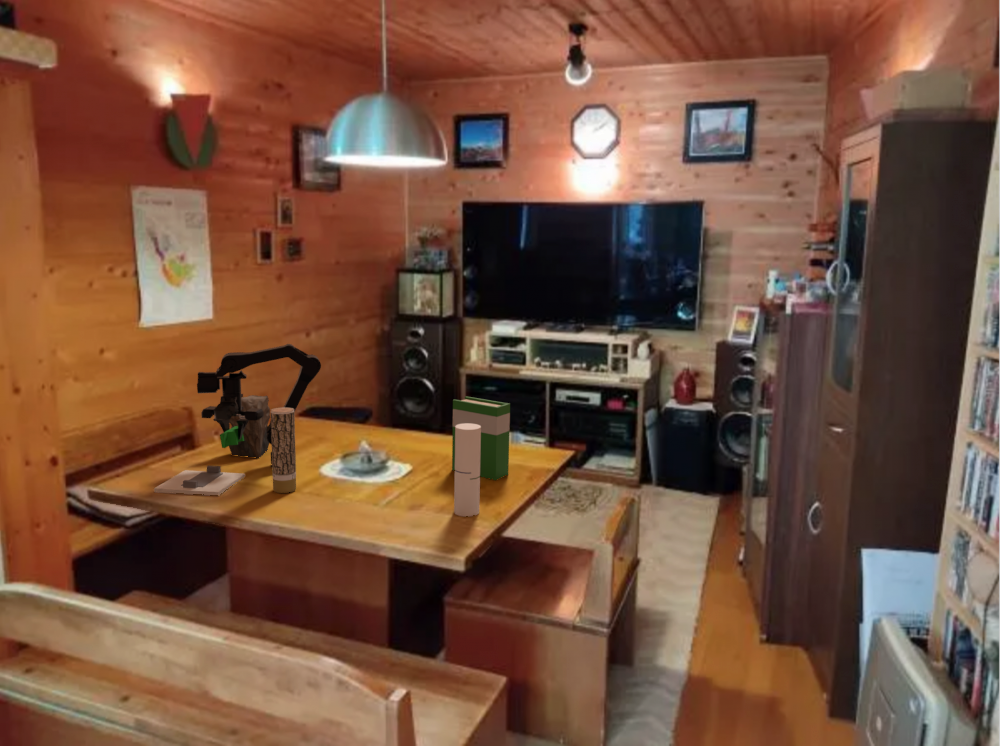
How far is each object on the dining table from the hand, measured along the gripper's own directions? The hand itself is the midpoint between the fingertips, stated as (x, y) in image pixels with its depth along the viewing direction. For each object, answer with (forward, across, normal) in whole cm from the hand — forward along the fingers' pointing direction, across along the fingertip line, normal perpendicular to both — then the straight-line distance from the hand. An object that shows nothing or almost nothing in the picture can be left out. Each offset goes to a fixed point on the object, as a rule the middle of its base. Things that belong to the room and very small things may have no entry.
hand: (233, 438), depth 248 cm
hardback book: (+10, +80, +10) cm, 81 cm away
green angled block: (+2, 0, 0) cm, 2 cm away
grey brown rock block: (+10, -2, +17) cm, 20 cm away
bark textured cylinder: (+10, +24, -18) cm, 32 cm away
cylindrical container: (+10, +81, -27) cm, 86 cm away
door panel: (+10, -3, -17) cm, 20 cm away
